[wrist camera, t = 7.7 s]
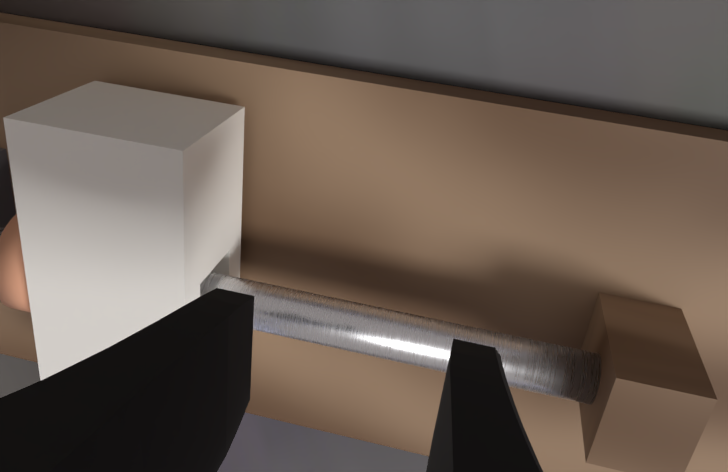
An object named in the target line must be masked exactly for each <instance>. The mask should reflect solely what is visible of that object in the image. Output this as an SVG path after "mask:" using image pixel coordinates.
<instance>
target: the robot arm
mask: <svg viewBox="0 0 728 472" xmlns="http://www.w3.org/2000/svg"><path fill="white" fill-rule="evenodd" d="M253 316H254V296H252V295H248V294H243V293H238V292H234V291H229V290H224V289H220V288H216V289H214V290H212V291H210V292H208V293H206V294H204V295H202V296H200V297H199V298H197V299H195V300H193V301H191V302H190V303H188V304H186V305H184V306H183V307H181V308H179V309H177V310H176V311H174V312H172V313H170V314H168V315H167V316H165V317H163V318H161V319H160V320H158V321H156V322H154V323H152V324H151V325H149V326H147V327H145V328H143V329H141V330H140V331H138V332H136V333H134V334H132V335H131V336H129V337H127V338H125V339H123V340H121V341H120V342H118V343H116V344H114V345H112V346H110V347H108V348H106V349H104V350H102V351H100V352H98V353H96V354H94V355H92V356H90V357H88V358H86V359H84V360H82V361H80V362H78V363H76V364H74V365H72V366H70V367H68V368H66V369H64V370H62V371H60V372H58V373H56V374H54V375H52V376H49V377H47V378H45V379H43V380H41V381H39V382H37V383H34V384H32V385H30V386H28V387H25V388H23V389H21V390H18V391H16V392H14V393H11V394H9V395H7V396H4V397H2V398H0V472H217V471H218V469H219V467H220V465H221V464H222V462H223V460H224V458H225V457H226V455H227V452H228V450H229V448H230V446H231V443H232V441H233V439H234V437H235V434H236V432H237V430H238V427H239V425H240V423H241V420H242V418H243V415H244V413H245V411H246V408H247V406H248V403H249V401H250V390H251V365H252V341H253ZM426 472H543V470H542V468H541V466H540V464H539V462H538V459H537V457H536V455H535V452H534V450H533V448H532V445H531V443H530V441H529V438H528V436H527V434H526V431H525V429H524V427H523V424H522V422H521V419H520V416H519V414H518V411H517V408H516V406H515V403H514V400H513V397H512V394H511V391H510V388H509V385H508V382H507V379H506V376H505V372H504V368H503V365H502V360H501V356H500V354H499V353H498V351H497V350H496V348H495V347H490V346H486V345H481V344H476V343H472V342H467V341H462V340H458V339H453V342H452V347H451V352H450V357H449V362H448V366H447V371H446V376H445V381H444V385H443V390H442V395H441V400H440V405H439V409H438V414H437V419H436V424H435V428H434V433H433V438H432V443H431V448H430V454H429V459H428V465H427V470H426Z"/></svg>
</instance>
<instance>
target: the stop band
mask: <svg viewBox="0 0 728 472" xmlns="http://www.w3.org/2000/svg"><path fill="white" fill-rule="evenodd" d="M0 301H1V302H2V303H3V304H4V305H5V306H7V307H9V308H12V309H17V310H21V311H25V312H30V313H31V310H30V303H29V296H28V289H27V282H26V275H25V268H24V261H23V254H22V247H21V239H20V232H19V225H18V218H17V214H16V215H15V216H14V217H13V218H12V219H11V220H10V221H9V223H8V224H7V225H6V227H5V228H4V230H3V232H2V234H1V236H0Z"/></svg>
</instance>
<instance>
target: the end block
mask: <svg viewBox="0 0 728 472" xmlns="http://www.w3.org/2000/svg"><path fill="white" fill-rule="evenodd" d="M14 216H15V208H14V201H13V194H12V187H11V180H10V173H9V166H8V159H7V152H6V149H4V148H0V227H2V228H5V227H6V225H7V224H8V223H9V221H10V220H11V219H12V218H13V217H14Z"/></svg>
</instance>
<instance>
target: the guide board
mask: <svg viewBox="0 0 728 472" xmlns="http://www.w3.org/2000/svg"><path fill="white" fill-rule="evenodd" d="M93 81H100V82H105V83H111V84H117V85H123V86H128V87H134V88H140V89H146V90H151V91H157V92H163V93H169V94H174V95H180V96H186V97H192V98H197V99H203V100H209V101H215V102H220V103H226V104H232V105H238V106H243V107H245V116H244V150H243V185H242V220H241V255H240V278H243V279H248V280H253V281H258V282H262V283H267V284H272V285H277V286H281V287H286V288H291V289H296V290H300V291H305V292H310V293H314V294H319V295H324V296H329V297H333V298H338V299H343V300H348V301H352V302H357V303H362V304H367V305H371V306H376V307H381V308H386V309H390V310H395V311H400V312H404V313H409V314H414V315H419V316H423V317H428V318H433V319H438V320H442V321H447V322H452V323H457V324H461V325H466V326H471V327H476V328H480V329H485V330H490V331H494V332H499V333H504V334H509V335H513V336H518V337H523V338H528V339H532V340H537V341H542V342H547V343H551V344H556V345H561V346H566V347H570V348H575V349H580V350H584V351H589V352H594V353H599V354H600V357H601V377H600V383H599V388H598V392H597V395H596V398H595V400H594V402H593V403H592V404H591V405H589V404H585V403H580V402H576V401H571V400H567V399H562V398H558V397H553V396H549V395H544V394H540V393H535V392H531V391H526V390H522V389H517V388H513V387H509V388H510V391H511V394H512V397H513V400H514V403H515V406H516V408H517V411H518V414H519V416H520V419H521V422H522V424H523V427H524V429H525V431H526V434H527V436H528V438H529V441H530V443H531V445H532V448H533V450H534V452H535V455H536V457H537V459H538V462H539V464H540V466H541V468H542V470H543V472H728V130H721V129H715V128H709V127H703V126H697V125H691V124H684V123H678V122H672V121H666V120H660V119H654V118H647V117H641V116H635V115H629V114H623V113H617V112H611V111H604V110H598V109H592V108H586V107H580V106H574V105H567V104H561V103H555V102H549V101H543V100H537V99H530V98H524V97H518V96H512V95H506V94H500V93H493V92H487V91H481V90H475V89H469V88H463V87H456V86H450V85H444V84H438V83H432V82H426V81H419V80H413V79H407V78H401V77H395V76H389V75H382V74H376V73H370V72H364V71H358V70H352V69H345V68H339V67H333V66H327V65H321V64H315V63H308V62H302V61H296V60H290V59H284V58H278V57H271V56H265V55H259V54H253V53H247V52H241V51H234V50H228V49H222V48H216V47H210V46H204V45H197V44H191V43H185V42H179V41H173V40H167V39H160V38H154V37H148V36H142V35H136V34H130V33H123V32H117V31H111V30H105V29H99V28H93V27H86V26H80V25H74V24H68V23H62V22H56V21H49V20H43V19H37V18H31V17H25V16H19V15H12V14H6V13H0V148H4V149H6V152H7V159H8V166H9V173H10V180H11V187H12V194H13V201H14V208H15V215H16V214H17V211H16V204H15V197H14V190H13V183H12V176H11V169H10V162H9V155H8V148H7V141H6V134H5V127H4V120H3V117H6V116H8V115H11V114H13V113H16V112H18V111H21V110H23V109H26V108H28V107H31V106H33V105H36V104H38V103H41V102H43V101H46V100H48V99H50V98H53V97H55V96H58V95H60V94H63V93H65V92H68V91H70V90H73V89H75V88H78V87H80V86H83V85H85V84H88V83H90V82H93ZM0 354H5V355H9V356H13V357H17V358H21V359H25V360H30V361H34V362H38V359H37V352H36V345H35V338H34V331H33V324H32V317H31V313H30V312H25V311H21V310H17V309H12V308H9V307H7V306H5V305H4V304H3V303H2V302H1V301H0ZM445 376H446V373H445V372H441V371H436V370H432V369H427V368H423V367H418V366H414V365H409V364H405V363H400V362H396V361H391V360H386V359H382V358H377V357H373V356H368V355H364V354H359V353H355V352H350V351H346V350H341V349H337V348H332V347H328V346H323V345H319V344H314V343H310V342H305V341H301V340H296V339H292V338H287V337H283V336H278V335H274V334H269V333H265V332H260V331H256V330H253V341H252V365H251V390H250V401H249V403H248V406H247V408H246V411H245V412H246V413H251V414H255V415H259V416H263V417H267V418H271V419H276V420H280V421H284V422H288V423H292V424H296V425H301V426H305V427H309V428H313V429H317V430H321V431H326V432H330V433H334V434H338V435H342V436H346V437H351V438H355V439H359V440H363V441H367V442H371V443H376V444H380V445H384V446H388V447H392V448H396V449H401V450H405V451H409V452H413V453H417V454H421V455H426V456H429V454H430V448H431V443H432V438H433V433H434V428H435V424H436V419H437V414H438V409H439V405H440V400H441V395H442V390H443V385H444V381H445Z"/></svg>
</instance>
